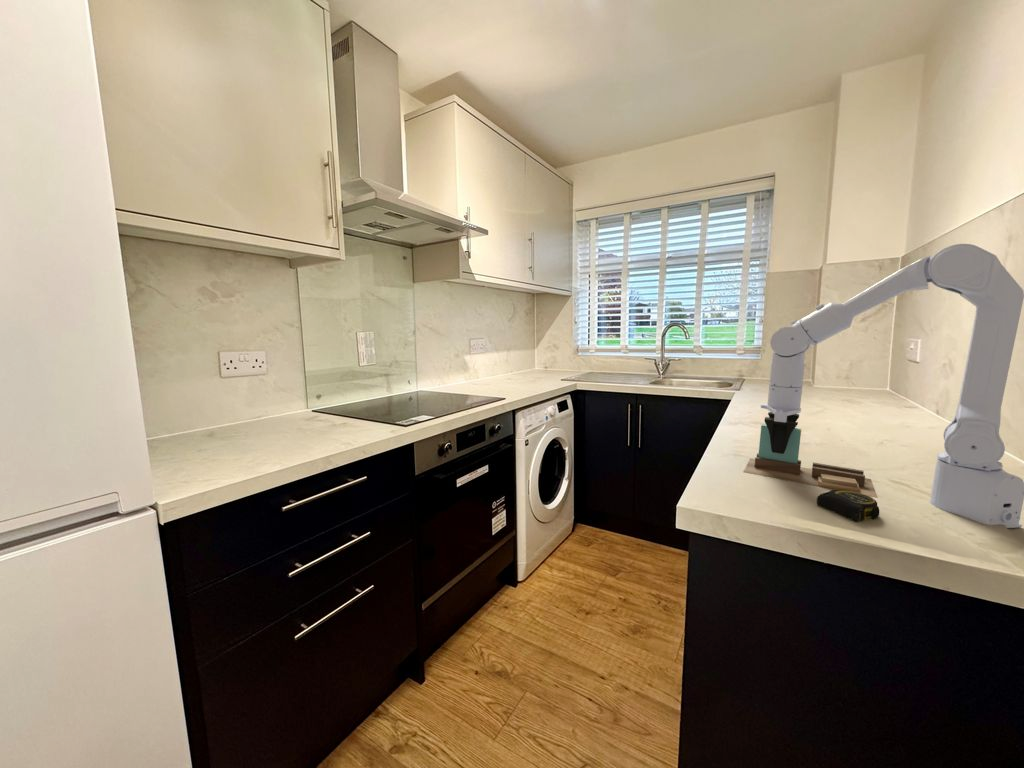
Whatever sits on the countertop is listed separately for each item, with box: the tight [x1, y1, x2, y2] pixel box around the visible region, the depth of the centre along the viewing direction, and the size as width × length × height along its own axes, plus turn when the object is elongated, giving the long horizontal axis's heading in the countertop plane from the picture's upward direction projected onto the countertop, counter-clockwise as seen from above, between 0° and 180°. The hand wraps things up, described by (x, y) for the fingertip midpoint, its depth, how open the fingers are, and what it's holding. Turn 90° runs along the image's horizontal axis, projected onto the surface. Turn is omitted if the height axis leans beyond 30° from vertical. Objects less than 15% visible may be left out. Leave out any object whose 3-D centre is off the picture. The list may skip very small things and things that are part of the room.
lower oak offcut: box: [818, 477, 859, 493], centre depth 77 cm, size 3×6×1 cm, turn 54°
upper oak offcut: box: [820, 474, 858, 488], centre depth 77 cm, size 3×5×1 cm, turn 59°
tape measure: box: [816, 489, 880, 523], centre depth 67 cm, size 7×7×4 cm
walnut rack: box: [743, 452, 878, 498], centre depth 83 cm, size 11×21×3 cm, turn 54°
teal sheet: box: [758, 423, 802, 464], centre depth 87 cm, size 2×7×9 cm, turn 54°
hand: (779, 449), depth 87 cm, fingers open, 6 cm apart
